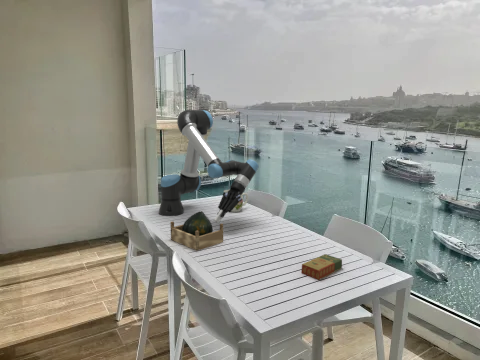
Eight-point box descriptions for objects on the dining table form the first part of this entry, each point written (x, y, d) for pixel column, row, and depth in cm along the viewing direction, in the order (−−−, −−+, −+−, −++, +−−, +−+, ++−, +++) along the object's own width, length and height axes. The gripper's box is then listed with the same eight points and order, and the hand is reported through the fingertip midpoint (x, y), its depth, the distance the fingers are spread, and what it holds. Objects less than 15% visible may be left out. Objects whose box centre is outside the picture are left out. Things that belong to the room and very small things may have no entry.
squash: (176, 235, 160) (197, 211, 160) (177, 226, 175) (196, 204, 175) (199, 254, 163) (220, 230, 163) (198, 244, 178) (218, 222, 178)
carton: (300, 273, 136) (301, 263, 135) (324, 262, 147) (325, 252, 146) (318, 281, 130) (319, 270, 129) (342, 268, 140) (342, 258, 140)
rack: (170, 239, 171) (170, 221, 169) (196, 232, 182) (196, 215, 181) (197, 250, 157) (197, 231, 156) (223, 241, 168) (223, 223, 167)
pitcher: (252, 210, 224) (252, 189, 221) (228, 214, 214) (228, 192, 212) (243, 206, 233) (243, 186, 230) (219, 210, 223) (219, 189, 221)
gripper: (251, 191, 183) (228, 228, 175) (234, 187, 193) (212, 222, 184) (244, 182, 179) (220, 220, 170) (227, 179, 188) (203, 215, 179)
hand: (216, 221), depth 177 cm, fingers closed
